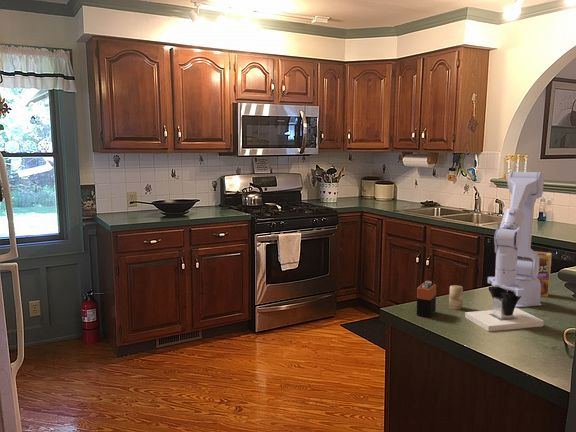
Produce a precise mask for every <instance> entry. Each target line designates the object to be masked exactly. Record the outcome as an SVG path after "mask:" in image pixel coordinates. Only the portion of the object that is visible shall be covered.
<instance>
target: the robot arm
mask: <svg viewBox="0 0 576 432" xmlns="http://www.w3.org/2000/svg"><path fill="white" fill-rule="evenodd" d="M506 182H507V188H508V191H509V193H510V194H511V196H510V197H511V198H510V202H509V203H510V204H509V208H506V209H505V210H504V212H503V215H502V219H501V221H500V225H499V229H496V230H495V232H494V236H493V237H494V239H493V240H494V241H493V243H494V253H495V271H494V272H495V273H494V276H487V283H488V284H489V285H491V286H488V290H489V291H488V292H490V296H491V298H492V299H493V297H502V298H503V301H504V313H505V315H506V316H510V315H512V314H513V311H514V308H523V307H524V308H525V307H535V306H542V305H543V304H542V302H541V296H540V295H541V283H540V281H539V279H538V278H536V277H537V276H538V273H539V256H538V254H537V253H536V252H534V251H535V250H533V249H532V248H531V247H532V238H533V237H532V235H533V227H534V226H533V223H534V214H535V213H534V212H535V203H536V201H537V199H540V198H542V197H543V194H544V184H545V183H544V182H545V175H544V173H543V172H542V171H539V172H538V171H536V172H535V171H534V172H533V171H513V170H511V171H510V172H509V173H508V176H507V181H506ZM522 257H528V258H531V259H527V258H522Z"/></svg>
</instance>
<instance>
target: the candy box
mask: <svg viewBox="0 0 576 432" xmlns="http://www.w3.org/2000/svg"><path fill="white" fill-rule="evenodd" d="M533 251H534V252H536V253H537V254H538V256H539V273H538V276H537V277H536V278H538V279H539V281H540V283H541V295H540V297H548V296H549V293H550V280H551V270H552V269H551V267H552V256H553V253H552V252H545V251H535V250H533ZM521 258H527V259H531V258H528V257H521Z"/></svg>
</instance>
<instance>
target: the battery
mask: <svg viewBox="0 0 576 432" xmlns="http://www.w3.org/2000/svg"><path fill="white" fill-rule="evenodd" d="M436 304H437V284H436V283H432V281H430V280H425V281H424V282H422V283H421V284H420V285H419V286H418V287H417V288H416V316H418V317H424V318H430V317H431V316H433V314H434V313H435V312H436V310H437V309H436V306H437V305H436Z"/></svg>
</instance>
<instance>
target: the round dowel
mask: <svg viewBox="0 0 576 432" xmlns="http://www.w3.org/2000/svg"><path fill="white" fill-rule="evenodd" d="M463 289H464V287H463V286H462V285H455V284H454V285H450V286H449V297H448V301H449V302H448V308H449V309H450V310H457V311H458V310H459V311H460V310H462V309H463V291H464V290H463Z"/></svg>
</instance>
